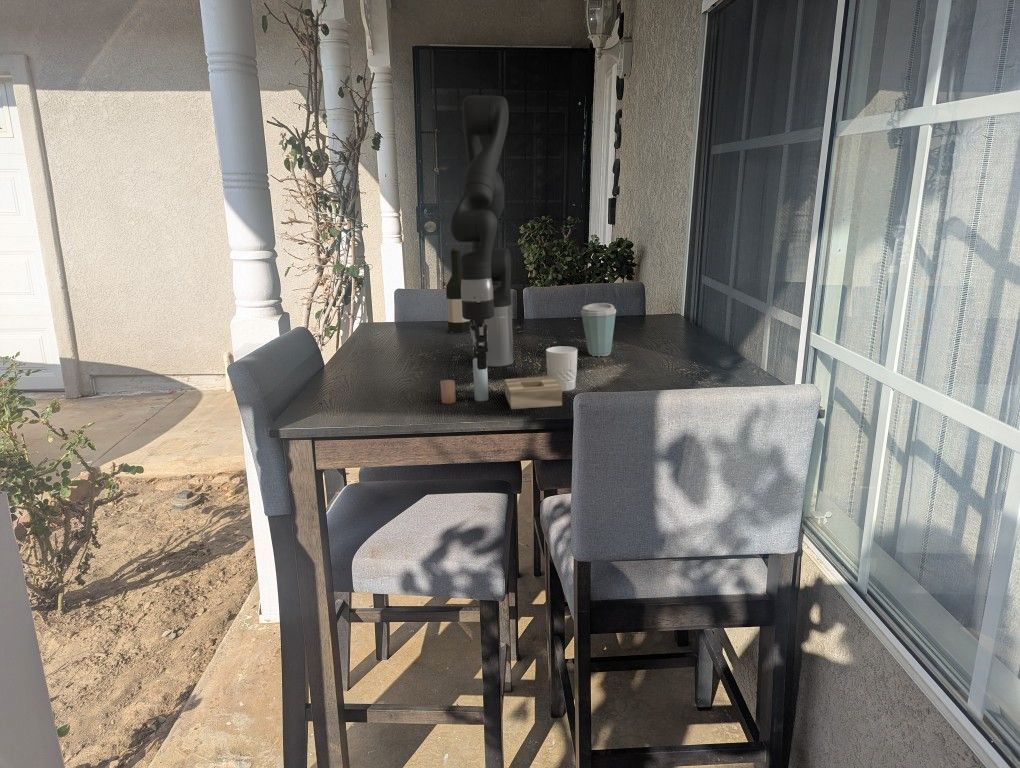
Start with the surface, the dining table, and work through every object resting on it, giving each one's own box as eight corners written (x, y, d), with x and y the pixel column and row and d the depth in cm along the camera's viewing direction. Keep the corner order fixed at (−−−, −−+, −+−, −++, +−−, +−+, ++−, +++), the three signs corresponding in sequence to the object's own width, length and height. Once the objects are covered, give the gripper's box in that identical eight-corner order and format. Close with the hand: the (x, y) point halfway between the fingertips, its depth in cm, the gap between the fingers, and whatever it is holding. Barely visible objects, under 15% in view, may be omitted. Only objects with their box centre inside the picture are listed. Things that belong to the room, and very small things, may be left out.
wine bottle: (446, 331, 261) (441, 247, 253) (468, 328, 263) (464, 246, 255) (451, 335, 253) (446, 249, 245) (473, 332, 255) (469, 248, 247)
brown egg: (441, 400, 174) (440, 380, 173) (455, 399, 174) (454, 379, 173) (441, 403, 171) (440, 383, 170) (456, 402, 171) (454, 382, 170)
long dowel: (474, 397, 175) (472, 358, 172) (487, 396, 175) (486, 357, 173) (475, 401, 172) (473, 361, 169) (489, 400, 172) (487, 360, 170)
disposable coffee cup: (615, 358, 209) (615, 308, 205) (578, 358, 211) (578, 308, 208) (617, 350, 219) (617, 302, 215) (582, 350, 221) (582, 302, 218)
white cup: (575, 383, 185) (575, 345, 182) (579, 391, 177) (579, 352, 174) (545, 384, 184) (544, 346, 182) (548, 392, 177) (547, 353, 174)
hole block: (504, 395, 176) (504, 379, 175) (552, 391, 178) (552, 376, 176) (511, 409, 165) (510, 392, 164) (562, 405, 166) (561, 389, 165)
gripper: (459, 294, 173) (462, 359, 177) (463, 302, 160) (467, 372, 164) (490, 293, 174) (492, 358, 178) (496, 300, 161) (499, 370, 165)
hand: (480, 365), depth 171 cm, fingers open, 8 cm apart
